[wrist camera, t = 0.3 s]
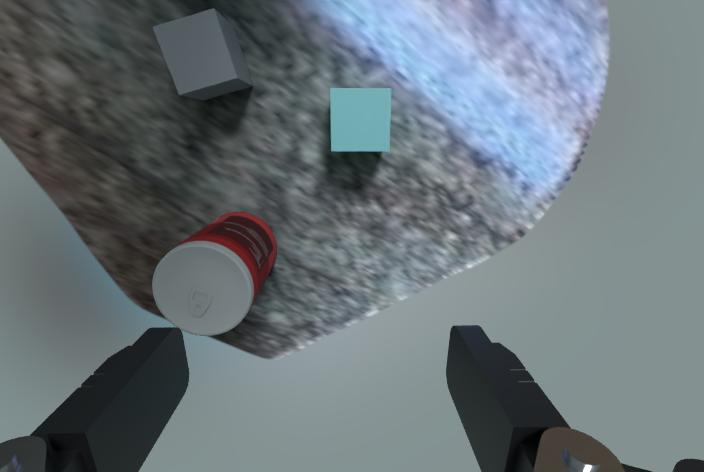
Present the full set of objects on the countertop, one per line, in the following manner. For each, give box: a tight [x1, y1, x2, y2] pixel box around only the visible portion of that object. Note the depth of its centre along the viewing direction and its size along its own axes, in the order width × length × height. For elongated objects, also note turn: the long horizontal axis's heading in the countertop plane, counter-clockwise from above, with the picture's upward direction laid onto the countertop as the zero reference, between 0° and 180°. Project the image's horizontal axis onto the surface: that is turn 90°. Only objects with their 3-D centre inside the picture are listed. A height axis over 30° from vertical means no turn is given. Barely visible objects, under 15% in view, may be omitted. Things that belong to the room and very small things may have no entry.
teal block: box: [330, 88, 391, 151], centre depth 30 cm, size 5×5×5 cm
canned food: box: [152, 212, 277, 336], centre depth 31 cm, size 8×8×11 cm
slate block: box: [153, 8, 253, 101], centre depth 29 cm, size 5×5×5 cm
